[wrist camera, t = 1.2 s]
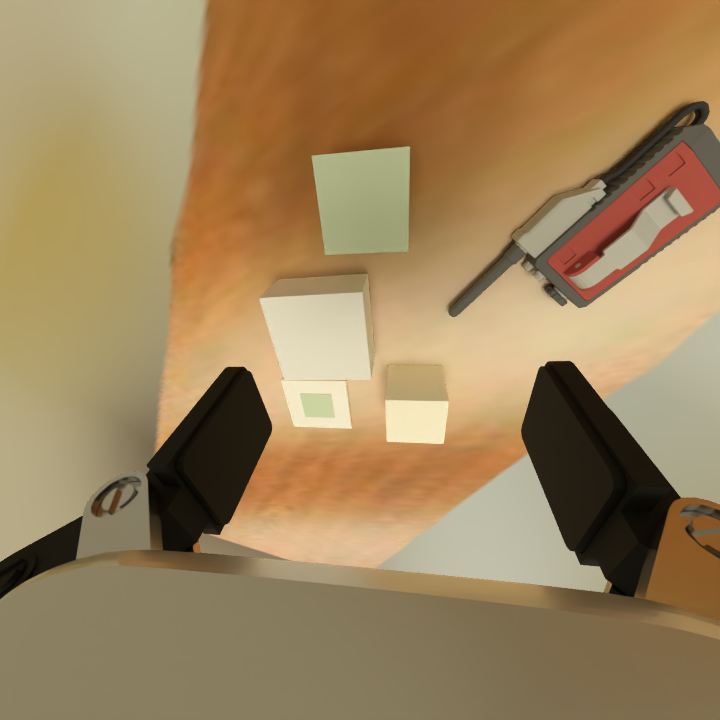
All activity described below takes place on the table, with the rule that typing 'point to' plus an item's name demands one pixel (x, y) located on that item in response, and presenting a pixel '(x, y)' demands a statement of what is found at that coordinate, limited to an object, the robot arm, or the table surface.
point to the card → (318, 403)
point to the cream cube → (416, 404)
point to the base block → (321, 327)
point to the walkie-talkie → (618, 215)
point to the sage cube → (364, 200)
